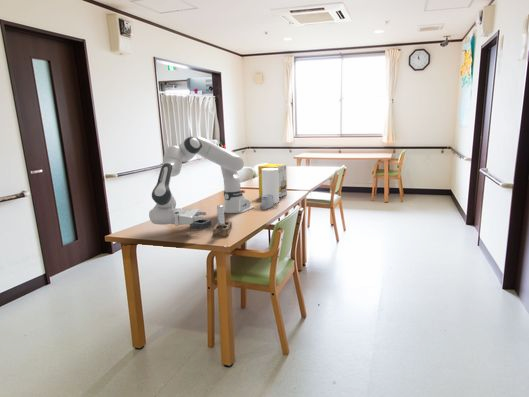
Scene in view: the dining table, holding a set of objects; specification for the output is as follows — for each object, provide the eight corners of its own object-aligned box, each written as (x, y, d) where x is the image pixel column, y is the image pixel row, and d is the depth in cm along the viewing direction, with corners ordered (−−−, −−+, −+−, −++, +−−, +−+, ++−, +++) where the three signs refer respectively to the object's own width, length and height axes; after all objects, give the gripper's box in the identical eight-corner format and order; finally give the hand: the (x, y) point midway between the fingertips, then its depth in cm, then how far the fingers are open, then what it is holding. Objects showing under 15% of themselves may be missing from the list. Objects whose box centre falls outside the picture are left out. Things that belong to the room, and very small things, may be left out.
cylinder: (269, 199, 291) (268, 167, 286) (282, 201, 284) (281, 168, 278) (259, 202, 282) (258, 169, 277) (272, 204, 274) (271, 170, 269)
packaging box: (276, 199, 293) (276, 167, 288) (259, 197, 301) (258, 166, 296) (286, 195, 306) (286, 164, 301) (269, 193, 315) (268, 163, 310)
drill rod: (220, 232, 210) (218, 204, 207) (226, 233, 209) (224, 205, 206) (217, 234, 207) (215, 206, 204) (223, 235, 206) (222, 206, 203)
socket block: (199, 223, 231) (198, 218, 230) (211, 224, 227) (211, 219, 226) (190, 227, 223) (189, 222, 222) (203, 228, 219) (202, 223, 218)
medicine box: (268, 206, 270) (268, 194, 268) (273, 206, 267) (273, 195, 266) (261, 208, 264) (261, 196, 263) (266, 209, 262) (266, 196, 260)
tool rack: (213, 236, 204) (213, 229, 204) (218, 228, 219) (217, 221, 218) (228, 236, 204) (227, 228, 203) (231, 228, 219) (231, 221, 218)
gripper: (184, 217, 217) (208, 216, 216) (174, 226, 197) (201, 226, 196) (183, 206, 216) (207, 205, 215) (173, 215, 196) (200, 214, 195)
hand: (204, 215), depth 206 cm, fingers open, 8 cm apart
